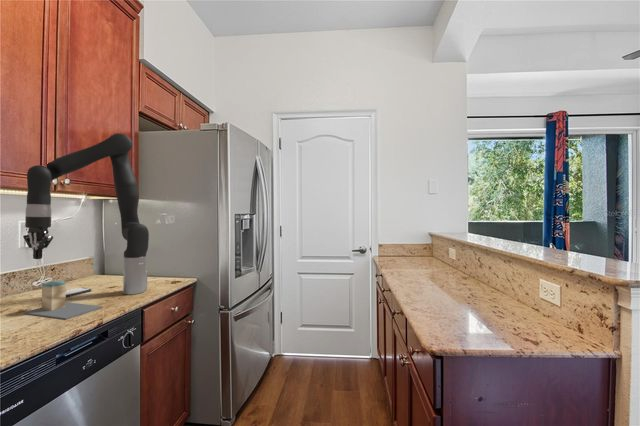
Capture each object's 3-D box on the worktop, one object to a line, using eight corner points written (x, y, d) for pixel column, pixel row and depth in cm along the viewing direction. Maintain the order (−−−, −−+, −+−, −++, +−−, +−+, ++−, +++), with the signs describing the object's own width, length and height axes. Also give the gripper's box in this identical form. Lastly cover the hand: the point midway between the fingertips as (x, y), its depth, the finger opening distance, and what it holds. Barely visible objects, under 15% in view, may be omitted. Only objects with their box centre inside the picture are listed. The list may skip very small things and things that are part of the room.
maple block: (55, 305, 119) (56, 280, 119) (65, 306, 118) (65, 281, 118) (41, 309, 115) (42, 283, 115) (51, 310, 113) (51, 284, 113)
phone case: (54, 301, 128) (92, 291, 143) (54, 298, 128) (92, 288, 143) (40, 299, 130) (79, 290, 146) (40, 296, 130) (79, 286, 146)
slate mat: (63, 302, 124) (63, 301, 124) (103, 307, 120) (103, 306, 120) (22, 313, 111) (22, 312, 111) (66, 319, 106) (66, 318, 106)
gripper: (61, 216, 121) (60, 258, 121) (37, 215, 124) (36, 256, 124) (40, 216, 113) (39, 261, 113) (15, 215, 116) (13, 259, 116)
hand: (37, 258), depth 118 cm, fingers closed
